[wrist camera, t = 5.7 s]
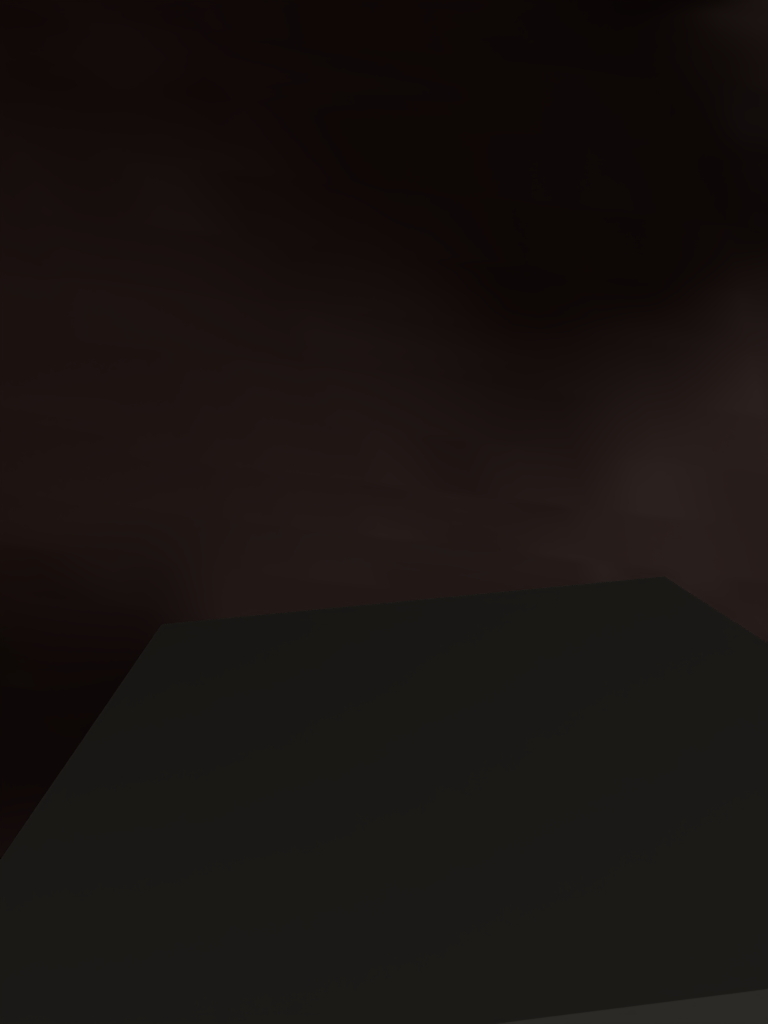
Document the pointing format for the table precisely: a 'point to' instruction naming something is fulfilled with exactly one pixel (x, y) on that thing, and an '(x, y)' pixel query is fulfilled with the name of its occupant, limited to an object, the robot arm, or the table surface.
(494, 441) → the table surface
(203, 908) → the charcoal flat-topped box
